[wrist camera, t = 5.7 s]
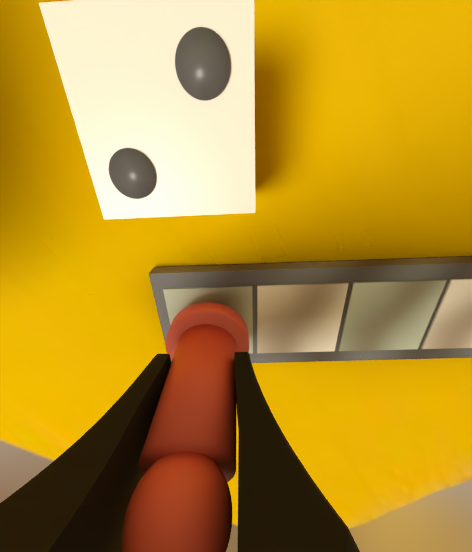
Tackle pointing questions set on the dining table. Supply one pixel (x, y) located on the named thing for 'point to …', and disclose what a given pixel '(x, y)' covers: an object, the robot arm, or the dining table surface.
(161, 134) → the die
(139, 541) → the pawn
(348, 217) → the dining table surface
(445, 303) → the board
